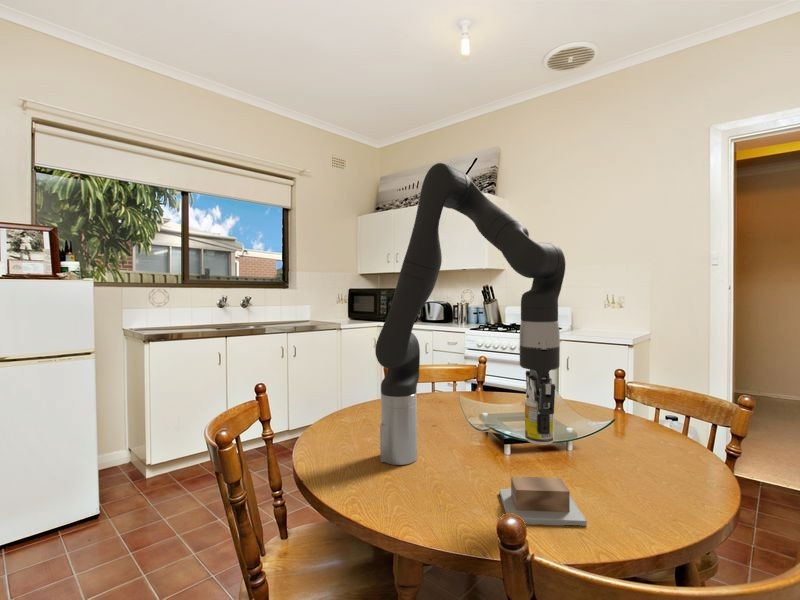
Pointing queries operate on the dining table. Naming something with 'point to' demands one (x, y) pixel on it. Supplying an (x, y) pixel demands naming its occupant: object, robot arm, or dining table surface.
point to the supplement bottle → (531, 423)
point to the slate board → (544, 513)
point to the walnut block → (540, 494)
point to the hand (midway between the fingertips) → (539, 428)
